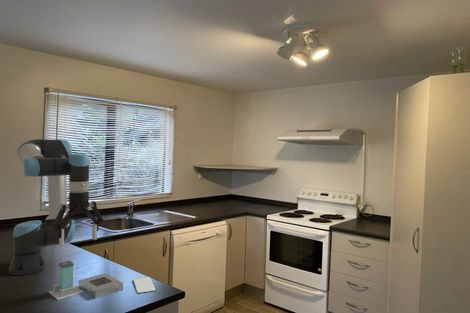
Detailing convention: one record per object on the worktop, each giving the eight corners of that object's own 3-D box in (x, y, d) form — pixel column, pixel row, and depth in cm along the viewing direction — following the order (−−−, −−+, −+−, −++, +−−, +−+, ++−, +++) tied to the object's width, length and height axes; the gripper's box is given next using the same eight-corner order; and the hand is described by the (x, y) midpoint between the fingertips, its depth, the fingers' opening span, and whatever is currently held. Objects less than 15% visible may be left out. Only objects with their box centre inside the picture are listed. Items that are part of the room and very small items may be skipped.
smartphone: (156, 292, 145) (150, 278, 160) (156, 290, 145) (150, 276, 160) (137, 295, 142) (132, 280, 157) (137, 293, 142) (132, 278, 157)
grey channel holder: (48, 292, 142) (48, 285, 142) (73, 285, 149) (73, 279, 149) (57, 300, 135) (57, 293, 135) (83, 292, 142) (83, 285, 142)
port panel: (78, 287, 148) (78, 279, 148) (105, 279, 157) (105, 272, 157) (95, 298, 137) (95, 290, 137) (123, 289, 146) (123, 282, 146)
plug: (58, 291, 142) (58, 262, 142) (69, 288, 145) (69, 260, 145) (62, 294, 139) (62, 265, 139) (73, 291, 142) (73, 263, 142)
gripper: (50, 195, 130) (50, 250, 131) (111, 189, 149) (111, 238, 149) (43, 193, 135) (42, 246, 136) (103, 188, 154) (102, 235, 154)
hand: (78, 242), depth 143 cm, fingers open, 13 cm apart
